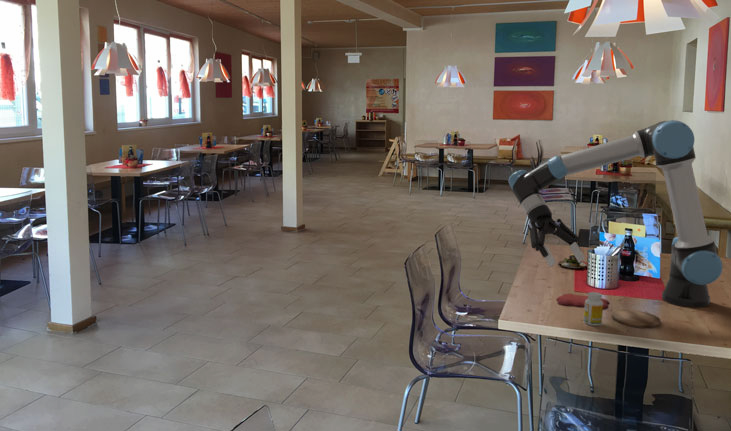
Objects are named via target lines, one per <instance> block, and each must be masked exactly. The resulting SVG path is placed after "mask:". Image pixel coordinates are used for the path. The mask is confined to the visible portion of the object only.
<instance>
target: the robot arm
mask: <svg viewBox="0 0 731 431" xmlns="http://www.w3.org/2000/svg"><path fill="white" fill-rule="evenodd" d="M694 144H695V134H694V131H693V130H692V129H691V128H690V126H689V125H687V123H685V122H683V121H680V120H674V119H672V120H663V121H659V122H657V123H655V124H653V125H650V126H648V127H645V128H643V129H639V130H636V131H635V132H634V134H633V135H629V136H625V137H622V138H618V139H615V140H611V141H608V142H603V143H601V144H596V145H594V146H590V147H586V148H582V149H580V150H575V151H573V152H570V153H566V154H563V155H562V154H561V155H560V156H558V155H555V156H553V157H551V158H547V159H543V160H542V161H541V162H540V163H538V164H539V165H538V166H537V167H535V168H534V169H532V170H531V171H529V172H528V171H526V170H524V169H520V170H518V171H515V172H513V173H511V175H510V176H509V178H508V184H509V187H510V188H511V191H512V193H513V194H514V196H515V197H516V199H517V201H518V202H519V204H520V206H521V208H522V209H523V211H524V213H525V214H526V216H527V218H528V220H529V223H528V225H527V228H528V229H529V236H530V244H531V248H532V249H535V251H536V252H540V254H541V256H542V257H543V258H544V260H545V261H546V263H547V265H548V267H550V268H551V267H553V266H554V265H555V264H556V263H557V261H556V259H555V257H554V256H553V254H552V252H551V251H550V249H549V247H548V244H547V245H545V240H546V235H553V236H556V237H558V238H559V239H561V240H562V241H563V242H565V243H567V245H569V246H568V247H569V249H570V250H571V252H572V254H574V255H575V257H576V259H577V260H578V262H579V263H581V262H583V261H585V260H586V256H585V255H584V254H583V253H584V252H582V249H581V247H580V246H579V244H578V242H579V241H580V237H579V236H578V235H577V234H576V233H575V232H574V231H572V230H571V229H570V228H569V227H568V226H567V225H566V224H565V223H564V221H562V220H561V219H560V218H557V219H556V220H554V219H553V216H552V215H553V213H552V211H551V209H550V208H549V206H548V205H547V202H546V201H545V199H544V198H543V197H542V194H541V193H540V191H542V190H544V189H545V188H547V187H549V186H550V185H552V184H554V183H555V182H558V181H559V180H561V179H563V178H564V177H568V176H569V175H574V174H578V173H581V172H585V171H588V170H592V169H596V168H600V167H603V166H607V165H610V164H614V163H619V162H621V161H625V160H629V159H634V158H636V157H641V158H643V159H644V158H647V157H653V156H654V160H655V164H656V165H655V166H656V167H657V168H659V169H661V170H662V173H663V176H664V177H663V178H664V182H665V186H666V190H667V195H668V199H669V204H670V207H671V212H672V217H673V223H674V226H675V231H676V234H677V236H675V237H673V239H672V243H671V251H670V252H671V255H670V266H669V267H670V268H669V275H668V276H669V278H668V280H667V283H666V285H665V288H664V289H663V290H662V292H661V293H662V294H661V299H662V300H663V301H664V302H666V303H668V304H672V305H676V306H679V307H689V308H705V307H704V306H706V307H708V305H709V304H711V297H710V294H709V288H708V285H709V284H713V283H714V282H716V281H717V280H718V279H719V278H720V277H721V275H722V273H723V262H722V260H721V258H720V256H719V255H718V253H717V247H716V244H715V240H714V238H713V237H712V236H709V235H708V231H707V228H706V227H707V226H706V223H705V219H704V213H703V209H702V204H701V200H700V196H699V195H700V194H699V191H698V186H697V182H696V177H695V173H694V168H693V163H694V162H695V160H696V153H695V152H696V151H695V148H694ZM709 306H710V305H709Z"/></svg>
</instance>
